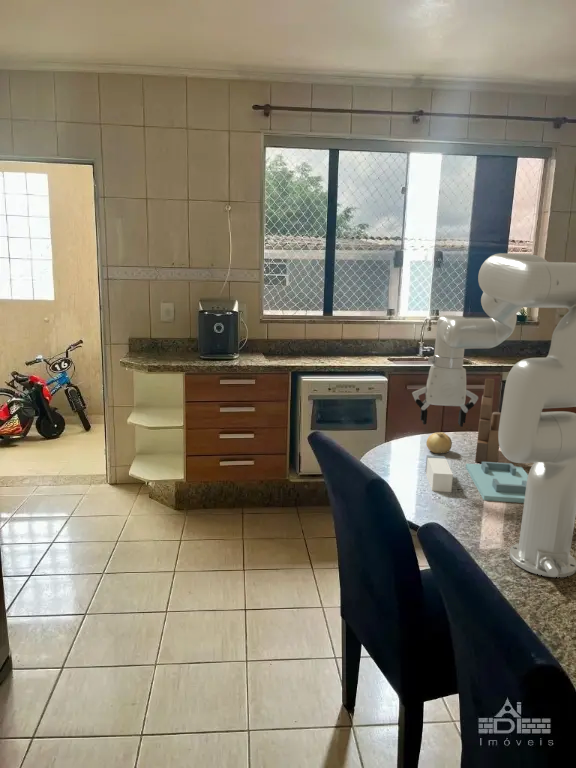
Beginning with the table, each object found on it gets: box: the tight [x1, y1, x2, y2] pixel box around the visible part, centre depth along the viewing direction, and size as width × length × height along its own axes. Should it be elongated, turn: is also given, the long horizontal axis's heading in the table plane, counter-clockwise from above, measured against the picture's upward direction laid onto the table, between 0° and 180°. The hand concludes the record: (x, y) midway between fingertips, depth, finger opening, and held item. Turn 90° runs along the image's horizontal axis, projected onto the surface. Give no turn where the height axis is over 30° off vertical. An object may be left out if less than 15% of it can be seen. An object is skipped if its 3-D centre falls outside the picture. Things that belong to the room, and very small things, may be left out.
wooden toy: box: [475, 378, 501, 464], centre depth 177 cm, size 16×7×25 cm, turn 160°
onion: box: [425, 431, 453, 455], centre depth 181 cm, size 8×8×7 cm
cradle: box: [465, 462, 529, 504], centre depth 156 cm, size 24×16×3 cm, turn 174°
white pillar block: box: [424, 454, 454, 493], centre depth 156 cm, size 14×5×5 cm, turn 174°
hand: (442, 424), depth 154 cm, fingers open, 9 cm apart
